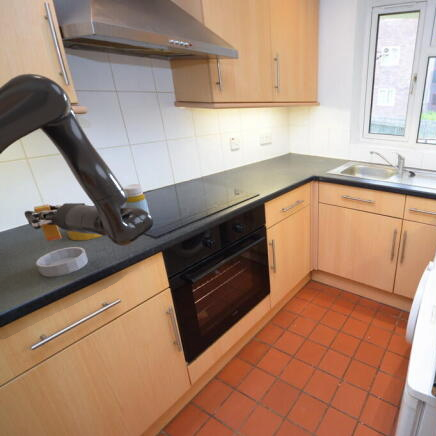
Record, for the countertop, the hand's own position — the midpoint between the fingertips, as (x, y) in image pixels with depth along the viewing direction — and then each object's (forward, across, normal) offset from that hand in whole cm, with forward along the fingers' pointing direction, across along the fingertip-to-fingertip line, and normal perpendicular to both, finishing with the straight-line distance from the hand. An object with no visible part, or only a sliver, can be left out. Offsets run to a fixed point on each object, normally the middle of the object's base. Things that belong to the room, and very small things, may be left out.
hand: (37, 211), depth 84 cm
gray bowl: (-3, 0, +18) cm, 18 cm away
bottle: (+2, -33, +18) cm, 37 cm away
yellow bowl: (+12, -20, +17) cm, 29 cm away
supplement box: (-3, 0, +8) cm, 9 cm away
